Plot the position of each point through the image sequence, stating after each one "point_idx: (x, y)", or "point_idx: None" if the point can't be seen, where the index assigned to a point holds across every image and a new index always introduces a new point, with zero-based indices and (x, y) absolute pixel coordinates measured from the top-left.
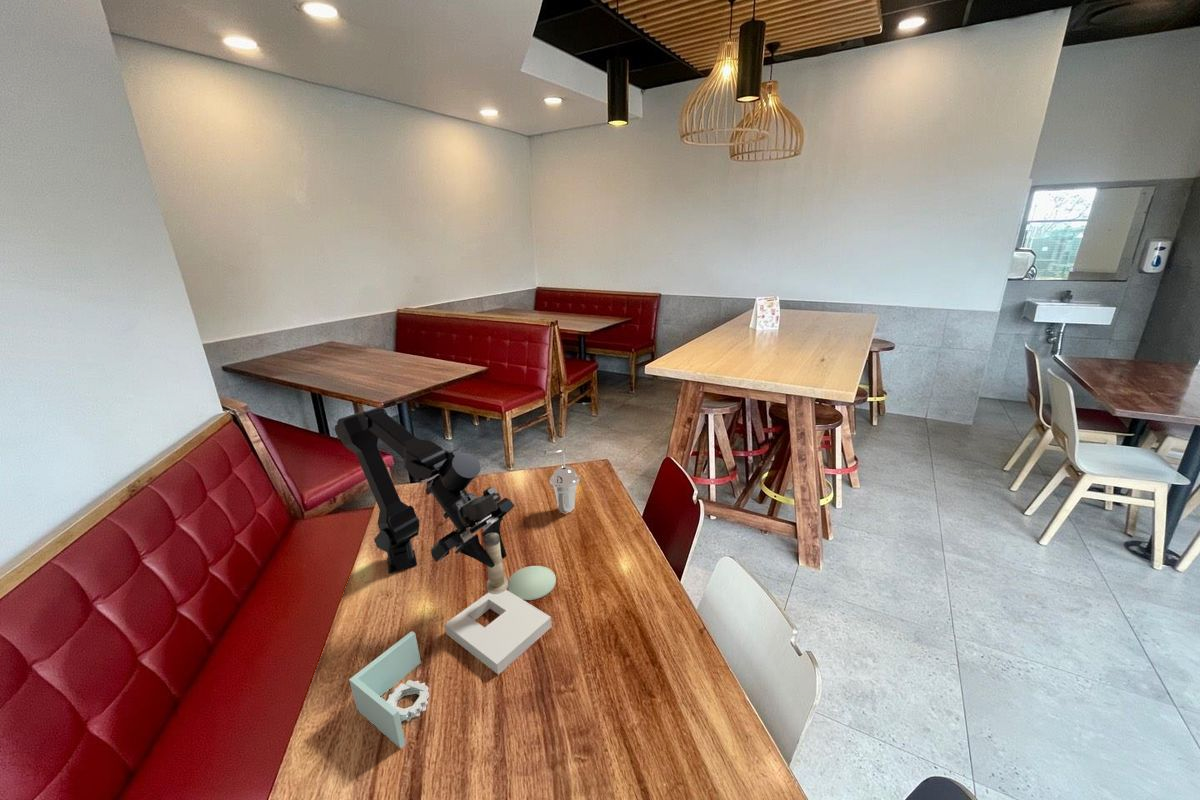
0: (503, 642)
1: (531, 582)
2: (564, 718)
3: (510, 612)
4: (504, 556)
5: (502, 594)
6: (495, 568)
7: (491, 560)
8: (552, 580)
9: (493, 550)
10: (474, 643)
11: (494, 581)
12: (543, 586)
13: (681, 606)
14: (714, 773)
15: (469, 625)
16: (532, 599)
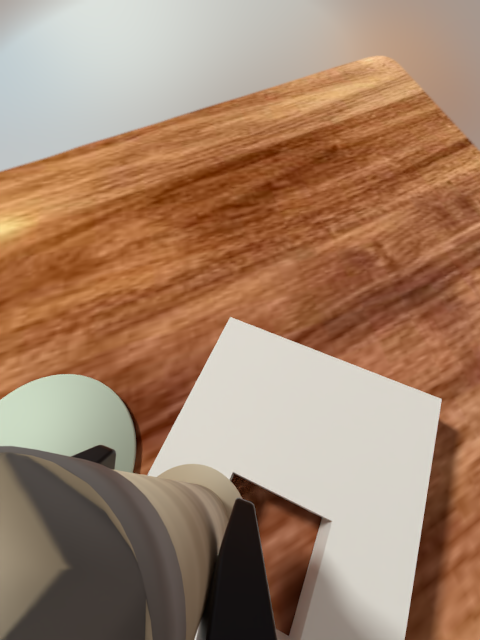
0: (363, 416)
1: None
2: (437, 243)
3: (238, 450)
4: (110, 459)
5: None
6: (212, 510)
7: (233, 537)
8: (46, 387)
9: (180, 524)
10: (410, 523)
11: (226, 522)
12: (74, 406)
13: (135, 133)
14: (407, 93)
15: (345, 603)
16: (133, 424)
